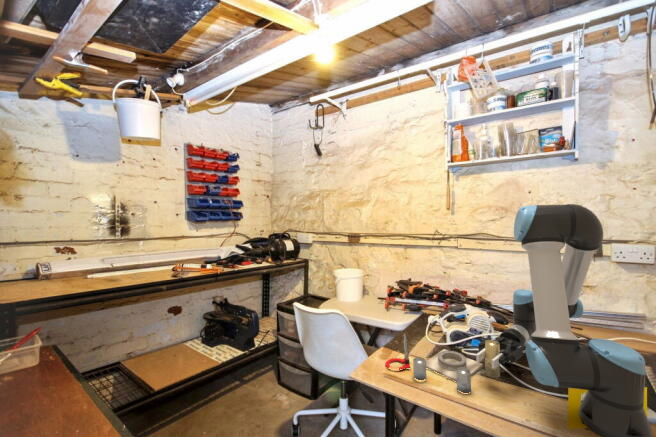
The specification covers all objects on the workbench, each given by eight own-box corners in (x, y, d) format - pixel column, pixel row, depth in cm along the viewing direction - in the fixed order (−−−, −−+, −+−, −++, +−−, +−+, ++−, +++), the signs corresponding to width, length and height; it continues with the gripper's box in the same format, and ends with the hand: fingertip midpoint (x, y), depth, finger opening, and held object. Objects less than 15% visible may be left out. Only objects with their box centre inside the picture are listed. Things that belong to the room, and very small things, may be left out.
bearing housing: (482, 366, 122) (482, 357, 121) (461, 385, 112) (461, 375, 111) (444, 351, 134) (444, 343, 134) (421, 366, 124) (421, 357, 124)
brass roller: (502, 374, 109) (502, 342, 108) (496, 379, 106) (496, 347, 105) (488, 368, 112) (488, 338, 111) (483, 373, 109) (482, 342, 108)
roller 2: (473, 390, 108) (473, 370, 108) (466, 396, 106) (465, 376, 105) (461, 384, 112) (460, 365, 111) (454, 390, 109) (453, 370, 109)
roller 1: (428, 378, 116) (428, 360, 116) (421, 384, 113) (421, 365, 113) (418, 373, 120) (417, 356, 119) (411, 378, 117) (410, 360, 116)
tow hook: (387, 373, 122) (411, 371, 121) (384, 341, 121) (408, 339, 120) (384, 361, 130) (407, 359, 130) (381, 331, 129) (404, 329, 128)
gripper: (540, 356, 113) (513, 383, 99) (490, 340, 127) (459, 362, 112) (540, 335, 113) (513, 360, 98) (490, 321, 126) (459, 341, 111)
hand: (485, 361), depth 105 cm, fingers closed on brass roller, 4 cm apart
